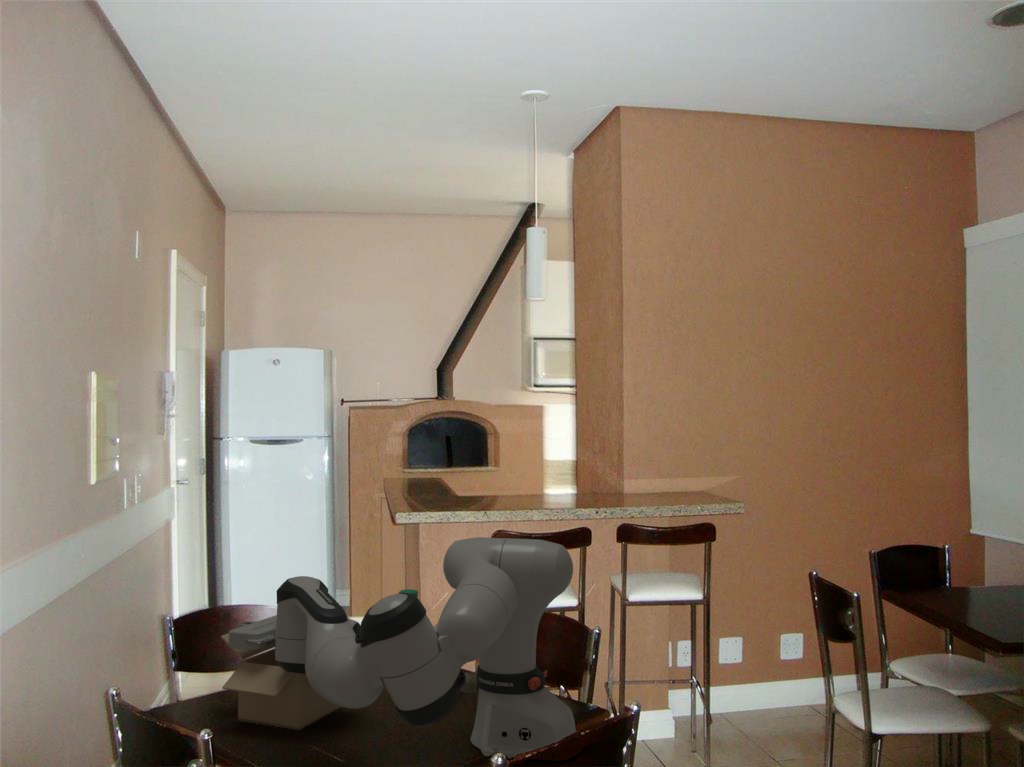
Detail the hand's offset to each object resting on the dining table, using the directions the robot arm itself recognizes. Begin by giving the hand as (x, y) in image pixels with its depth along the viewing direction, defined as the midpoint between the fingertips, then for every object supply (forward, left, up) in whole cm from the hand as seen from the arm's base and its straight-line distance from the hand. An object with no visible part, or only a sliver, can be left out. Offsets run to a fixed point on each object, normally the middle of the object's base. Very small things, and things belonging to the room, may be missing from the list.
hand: (240, 626), depth 195 cm
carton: (-16, 0, -17) cm, 24 cm away
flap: (-3, 0, -3) cm, 4 cm away
